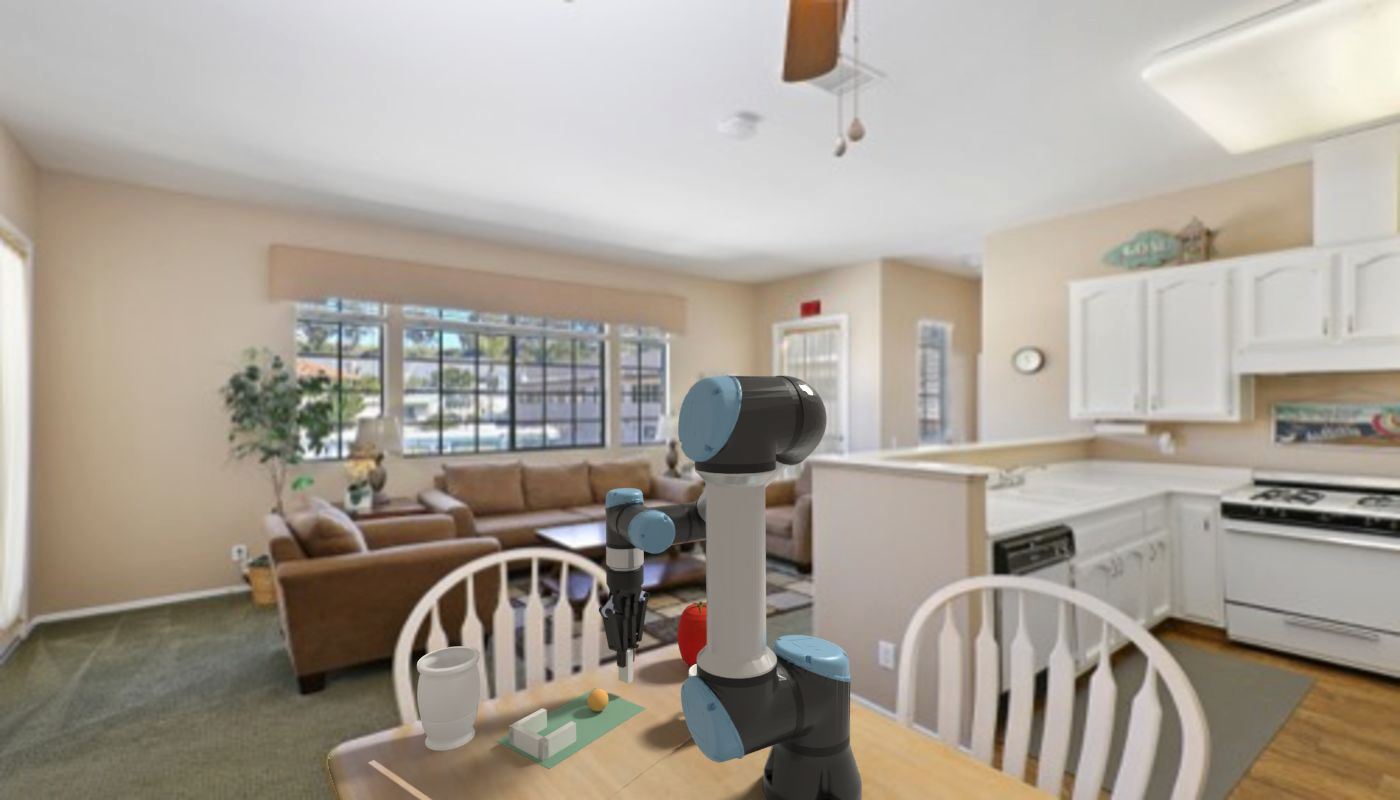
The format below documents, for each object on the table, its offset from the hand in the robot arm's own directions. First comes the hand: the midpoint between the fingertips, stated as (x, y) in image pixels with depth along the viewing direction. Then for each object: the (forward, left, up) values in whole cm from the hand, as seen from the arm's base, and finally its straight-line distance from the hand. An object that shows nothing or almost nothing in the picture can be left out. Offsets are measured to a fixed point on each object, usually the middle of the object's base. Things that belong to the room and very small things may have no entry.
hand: (625, 680), depth 130 cm
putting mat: (0, +14, -3) cm, 14 cm away
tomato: (-4, -21, -4) cm, 22 cm away
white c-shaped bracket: (0, +22, -3) cm, 22 cm away
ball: (0, +8, -1) cm, 8 cm away
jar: (+15, +30, -4) cm, 34 cm away
